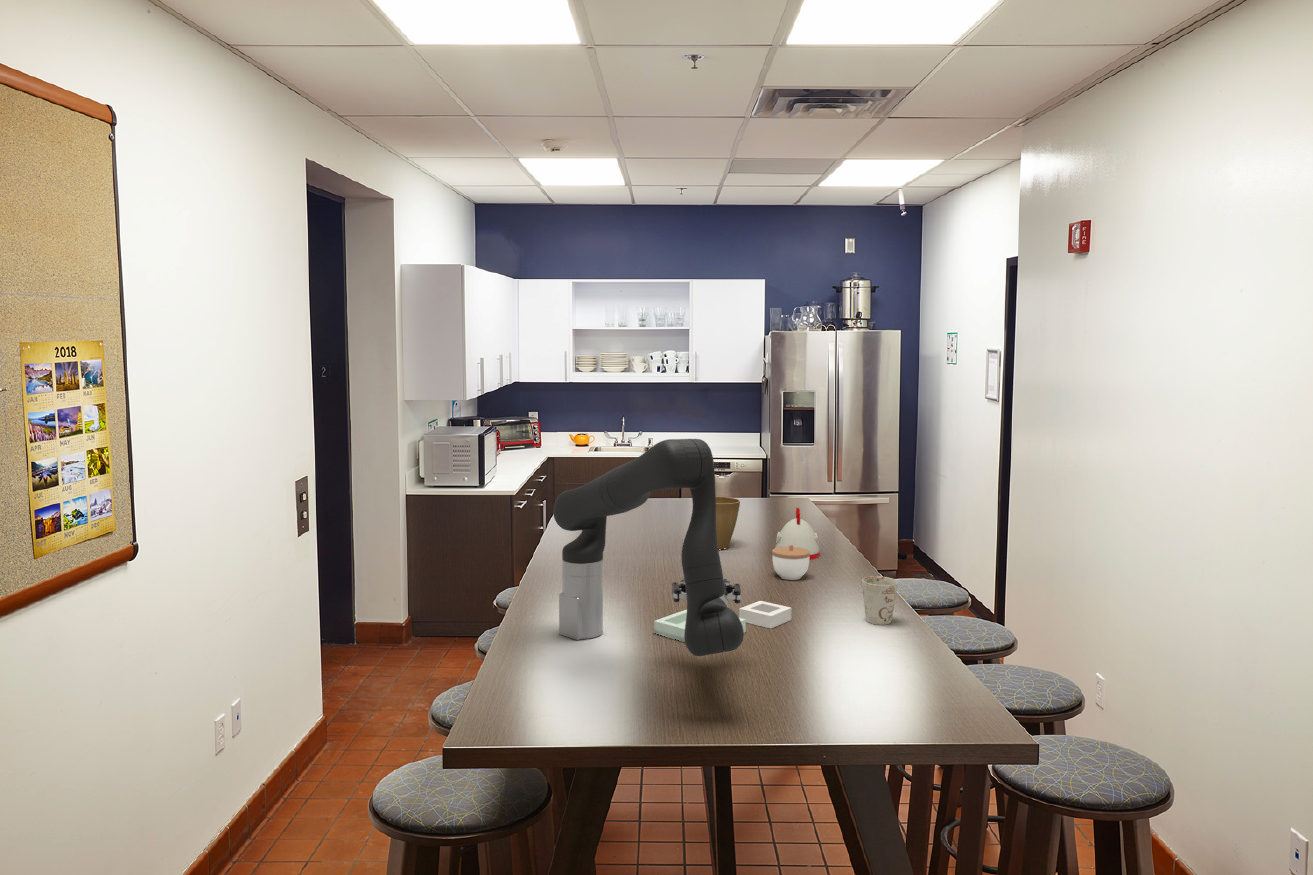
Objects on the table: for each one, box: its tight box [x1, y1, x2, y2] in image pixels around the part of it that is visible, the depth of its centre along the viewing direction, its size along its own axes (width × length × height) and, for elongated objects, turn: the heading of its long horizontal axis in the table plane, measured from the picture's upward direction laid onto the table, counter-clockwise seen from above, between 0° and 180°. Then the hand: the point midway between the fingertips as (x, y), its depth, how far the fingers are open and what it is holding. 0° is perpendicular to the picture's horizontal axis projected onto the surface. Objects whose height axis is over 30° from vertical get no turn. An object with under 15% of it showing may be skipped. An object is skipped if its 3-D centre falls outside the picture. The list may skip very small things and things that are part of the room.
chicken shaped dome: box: [774, 507, 820, 561], centre depth 280 cm, size 14×14×15 cm
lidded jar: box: [771, 545, 810, 581], centre depth 253 cm, size 11×11×9 cm
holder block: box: [738, 600, 793, 629], centre depth 213 cm, size 9×9×3 cm
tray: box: [653, 608, 747, 643], centre depth 203 cm, size 15×15×3 cm
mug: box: [861, 575, 899, 626], centre depth 215 cm, size 8×13×10 cm, turn 15°
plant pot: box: [716, 496, 741, 550], centre depth 289 cm, size 15×15×16 cm
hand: (704, 582), depth 191 cm, fingers open, 8 cm apart
